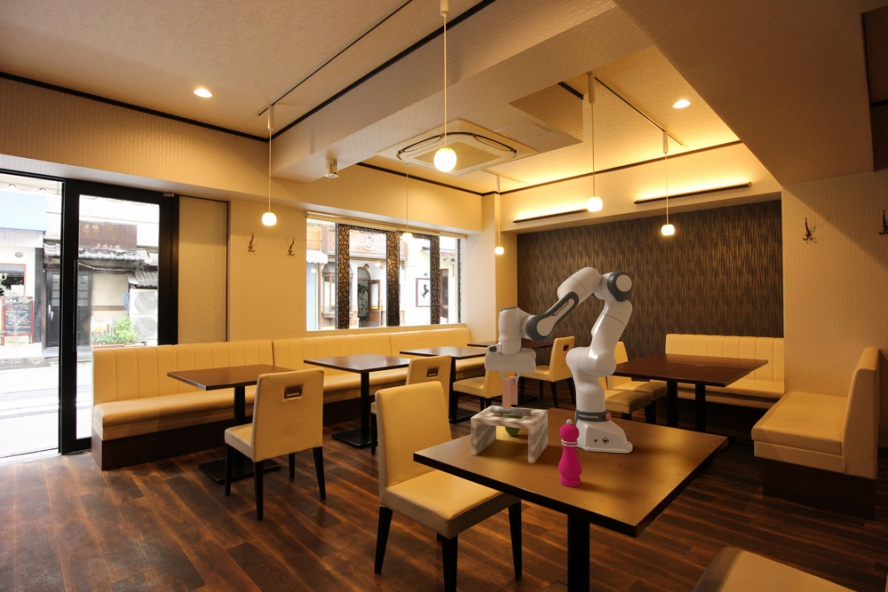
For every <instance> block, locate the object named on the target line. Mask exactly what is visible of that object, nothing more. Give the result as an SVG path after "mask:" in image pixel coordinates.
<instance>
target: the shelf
mask: <svg viewBox="0 0 888 592" xmlns="http://www.w3.org/2000/svg"><path fill="white" fill-rule="evenodd" d="M503 414H508V415H519V416H522V417H523V418H521V419H513V418H503V416H502V417H501V415H503ZM548 414H549V413H548V409H537V408H527V407H526V408H525V407H516V406H515V407H513V406H511V409H502V405H490V406H488V407H487V408H484V409H483V410H482V411H480V412H478V413H476V414H474V415H473V416H472V417H470V438H471V439H470V448H471V449H470V451H471V453H470V455H472V456H478V455H479V454H480V453H481V452H482V451H484V450H485V449H486V448H487V447H488V446H490V445H491V444H492V443H493V442H494V441H495V439H496V440H497V427H504V428H505V427H515V428H520V429H525V430H527V452H528V453H527V454H528V456H527V457H528V458H527V460H528V463H529V464H535V463H536V461H537V460H538V459H539V458H540V456H541V455H542V454H543V452H544V451H545V450H546V448H548V446H549V430H548V429H549V426H548V425H549V424H548V423H549V421H548V418H549V416H548ZM490 443H491V444H490ZM489 444H490V445H489ZM547 445H548V446H547ZM544 449H545V450H544ZM541 453H542V454H541Z"/></svg>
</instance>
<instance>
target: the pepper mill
mask: <svg viewBox="0 0 888 592" xmlns="http://www.w3.org/2000/svg"><path fill="white" fill-rule="evenodd" d="M559 435H560V437H561V445H562V449H563V450H562V451H563V452H562V454H561V455H562V456H561V458H560V461H559V463H558V470H557V471H558V472H559V474H560V476H559V477H560V478H559V483H560V484H561V485H562V486H565V487H569V488H576V487H580V486H581V485H582V483H581V482H582V480H581V477H580V476H581V475H582V474H583V467H582V463H581V461H580V459H579V457H578V453H577V449H578V448H577V445H578V440H577V438H578V437H579V429H578V428H577V427H576V425H574V424H573V421H572V419H567V420H566V424H563V425H562V426H561V427H560V429H559Z"/></svg>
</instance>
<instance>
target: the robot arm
mask: <svg viewBox="0 0 888 592" xmlns="http://www.w3.org/2000/svg"><path fill="white" fill-rule="evenodd" d="M633 289H634V279H633V278H632V276H631V274H629V273H628V272H625V271H622V270H620V271H619V270H617V271H612V272H607V273H604V274H600V273H599V271H598V270H597V269H596V268H594V267H591V266H587V267H586V266H585V267H584V268H581V269H579V270H578V271H577V272H574V273H573V274H571V275H570V276H569V277H568V278H567V279H565V280H564V281H563V282H562V284H560V285H559V287H558V288H557V290H556V291H557V293H556V294H557V298H558V301H557V302H555V303H554V304H553V305H552V307H550V308H548V310H547V311H546V312H544V313H541V314H536V315H534V314H531V313H528V312H526V311H524V310H523V309H521V308H520V307H518V306H509V307H504V308H501V310H500V311H499V315H498V323H497V324H498V325H497V326H498V327H497V328H498V332H499V335H498V342H497V343H495V344H492V345H489V346H487V347H486V354H485V356H484V369H485V371H490V372H491V371H492V372H499V375H500V378H501V381H502V380H503V379H505V378H506V376H505V375H504V374H505V372H508V373H509V372H510V373H515V375H516V376H515V377H516V378H514V379H513V383H514V384H517V385H518V383H519V382H518V381H519V378H520V376H521V374H522V373H527V374H533V373H535V372H536V370H537V365H536V358H537V352H536V351H535V350H534V349H533V348H525V347H522V339H523V338H524V339H527V340H531V341H534V342H539V343H541V342H545V341H547V340H549V339H550V338H551V337H552V336H553V334H554V332H555V330H556V328H557V327H558V326H559V324H560V323H561V322H563V320H564V319H566V317H567V316H568V315H569V314H571V312H573V311H574V309H575V308H576V307H578V306H579V305H580V304H581V303H583V302H584V301H585V300H586V299H588V298H589V297H590V296H591V297H592V298H594V299H595V300H598V301H604V306H603V310H602V311H601V313H600V314H599V316H598V318H597V319H596V321H595V323H594V324H593V327H592V328H591V331H590V334H591V336H592V340H591V343H590V345H589V346H588V347H586V346H585V347H584V346H578V347H574V348H571V349H570V350H568V351H567V353H566V356H565V362H566V366H567V367H568V368H569V370H570V372H571V376H572V378H573V381H574V382H573V383H574V386H575V392H576V393H575V394H576V395H575V397H576V398H575V399H576V401H575V402H576V408H575V412H574V413H575V415H574V417H575V420H574V421H575V424H576V425H575V426H576V427H577V428H578V429H579V437H578V438H577V440H578V445H577V447H578V448H580V449H583V450H584V451H587V452H598V453H601V452H602V453H615V454H628V453H631V452H632V451H633V450H634V449H633V444H632V443H631V442H630V441H627V437H626V433H625V430H623V428H621V427H620V426H619V425H618V424H616V423H615V422H614V421H612V420H611V418H612V415H611V411H608V410H607V409H606V392H605V389H604V387H603V386H602V384H601V383H600V380H599V378H605V377H606V378H607V377H610V376H612V375H613V374H614V373H615V371H616V369H617V359H616V357H615V352H616V348H617V344H618V342H619V340H620V338H621V336H622V334H623V332H624V330H625V329H626V326H627V325H628V323H629V321H630V317H631V315H632V312H633V305H632V303H631V301H629V300H630V299H631V297H632V292H633Z"/></svg>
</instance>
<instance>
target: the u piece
mask: <svg viewBox="0 0 888 592" xmlns="http://www.w3.org/2000/svg"><path fill="white" fill-rule="evenodd" d="M514 378H516V376H514V375H513V376H512V375H510V376H507V377H505V379H503V380H502V379H501V387H502V388H501V389H502V391H501V393H502V395H501V399H502V401H501V402H502V403H501V406H502V409H511V407H512V405H514V406H517V405H518V383H517V384H514V383H513V379H514Z"/></svg>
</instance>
